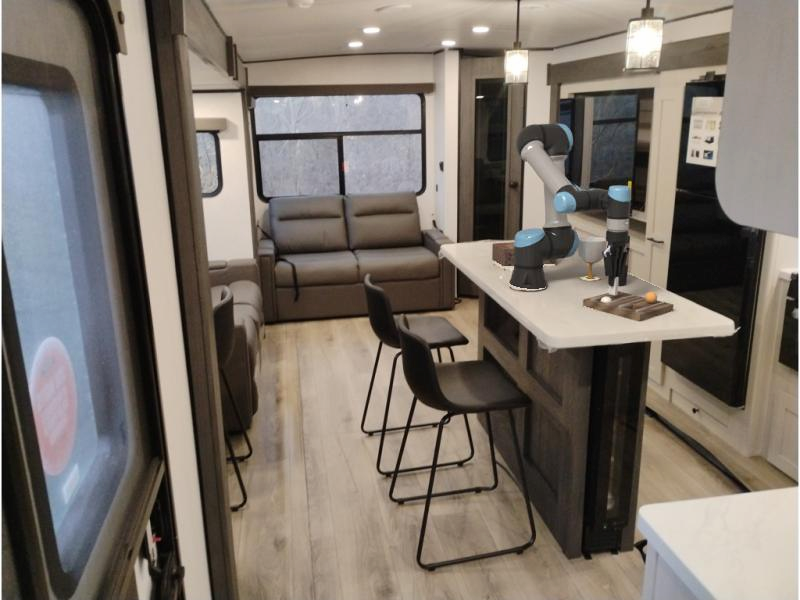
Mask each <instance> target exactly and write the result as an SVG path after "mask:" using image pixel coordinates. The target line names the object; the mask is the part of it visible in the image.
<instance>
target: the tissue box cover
mask: <svg viewBox="0 0 800 600" xmlns="http://www.w3.org/2000/svg"><path fill="white" fill-rule="evenodd" d="M491 247H492V250H491V251H492V255H491V256H492V259H491V261H492V260H494V261H496V262H497V263H499V264H501V265H502V266H514V241H509V242H497V243H496V242H494V243H492V246H491ZM544 264H556V265H557V259H552V260H543V265H544Z"/></svg>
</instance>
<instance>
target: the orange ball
mask: <svg viewBox="0 0 800 600" xmlns="http://www.w3.org/2000/svg"><path fill="white" fill-rule="evenodd" d="M645 299H646V301H647V302H648V303H654V302H656V300H657V301H658V295H657V293H656V292H654V291H649V292H647V293H646V294H645Z"/></svg>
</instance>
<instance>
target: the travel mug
mask: <svg viewBox="0 0 800 600" xmlns="http://www.w3.org/2000/svg"><path fill="white" fill-rule="evenodd" d="M630 242H631V236H630V235H629V234H628V241H627V242H625V244H626V247H628V248H630V246H631V243H630ZM629 260H630V251H629V252H628V255H627V260H626V264H625V269H624V273H623V274H621V275H622V277H619V284H618V287H624V285H625V286H626V285H627V281H628V273H629V272H628V271H629ZM607 277H608V276H607ZM607 283H608V285H609V277H608V278H607Z"/></svg>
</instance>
